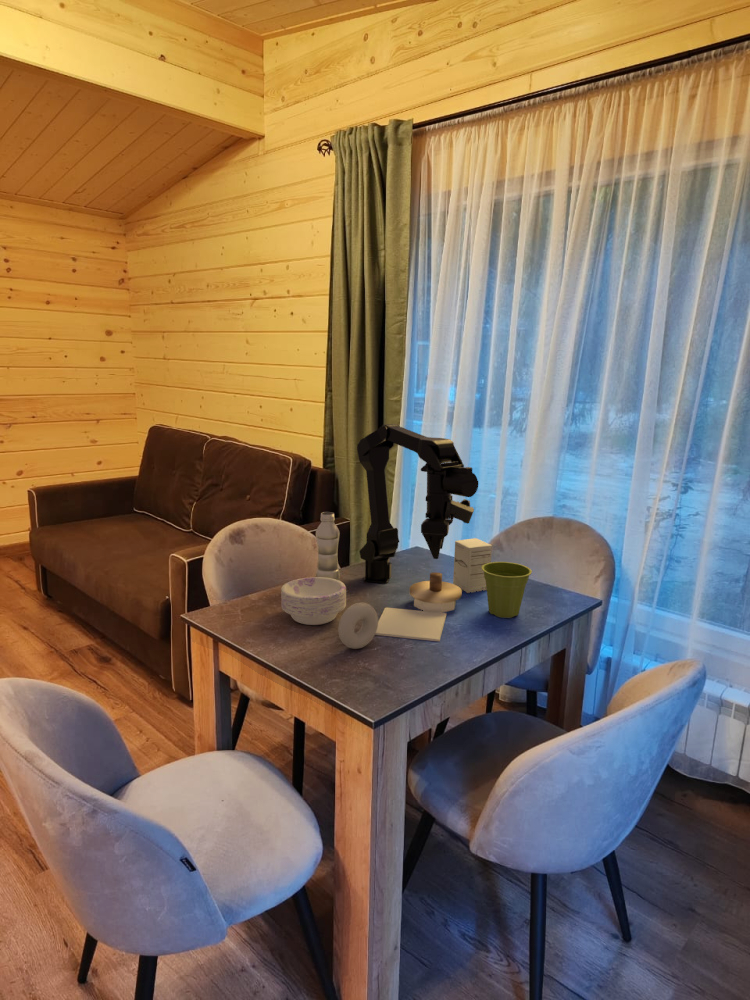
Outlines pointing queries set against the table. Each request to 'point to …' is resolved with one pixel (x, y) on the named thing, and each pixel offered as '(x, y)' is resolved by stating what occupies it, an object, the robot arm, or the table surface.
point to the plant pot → (505, 587)
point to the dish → (434, 606)
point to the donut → (350, 620)
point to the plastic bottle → (327, 547)
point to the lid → (435, 590)
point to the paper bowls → (313, 599)
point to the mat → (411, 624)
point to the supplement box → (471, 564)
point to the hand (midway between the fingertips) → (437, 553)
